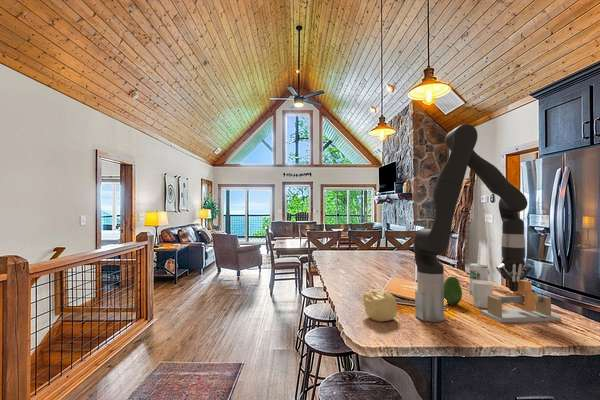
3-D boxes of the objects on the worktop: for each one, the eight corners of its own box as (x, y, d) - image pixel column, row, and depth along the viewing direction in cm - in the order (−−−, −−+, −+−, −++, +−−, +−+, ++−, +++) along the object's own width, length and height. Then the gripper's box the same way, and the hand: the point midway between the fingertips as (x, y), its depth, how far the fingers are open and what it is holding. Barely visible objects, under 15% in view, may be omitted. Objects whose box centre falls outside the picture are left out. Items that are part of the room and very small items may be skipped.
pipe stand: (500, 322, 118) (499, 300, 118) (480, 312, 128) (480, 292, 129) (560, 320, 120) (560, 298, 120) (536, 311, 131) (535, 291, 131)
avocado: (465, 304, 139) (465, 276, 139) (456, 308, 134) (456, 279, 134) (446, 300, 145) (446, 273, 145) (438, 304, 140) (438, 275, 140)
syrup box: (468, 293, 157) (468, 263, 158) (478, 292, 159) (478, 262, 160) (478, 296, 152) (478, 265, 152) (488, 295, 154) (488, 264, 154)
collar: (527, 311, 121) (527, 283, 121) (513, 305, 128) (513, 278, 128) (535, 311, 121) (534, 282, 121) (520, 305, 128) (520, 278, 128)
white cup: (496, 309, 133) (496, 284, 133) (475, 308, 135) (475, 283, 135) (489, 303, 141) (489, 280, 141) (469, 302, 142) (469, 279, 143)
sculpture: (358, 315, 125) (358, 286, 125) (387, 312, 128) (387, 285, 128) (372, 325, 114) (372, 294, 114) (403, 322, 117) (403, 292, 117)
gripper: (504, 246, 120) (504, 294, 120) (537, 246, 122) (537, 293, 121) (490, 244, 128) (490, 289, 127) (521, 244, 129) (521, 288, 129)
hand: (513, 291), depth 124 cm, fingers closed
